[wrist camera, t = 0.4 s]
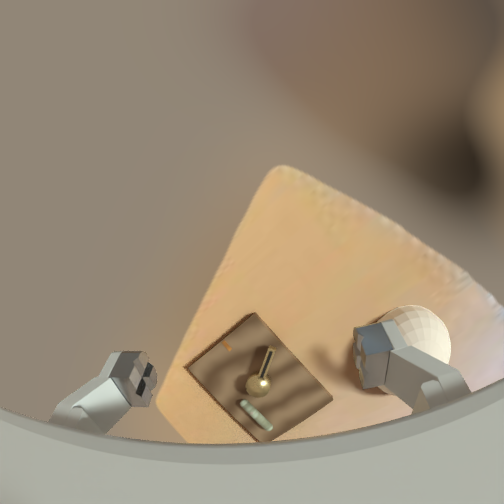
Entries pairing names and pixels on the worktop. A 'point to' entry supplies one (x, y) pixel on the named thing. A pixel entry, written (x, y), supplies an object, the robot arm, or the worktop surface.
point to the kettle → (421, 332)
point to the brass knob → (261, 377)
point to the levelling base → (280, 371)
